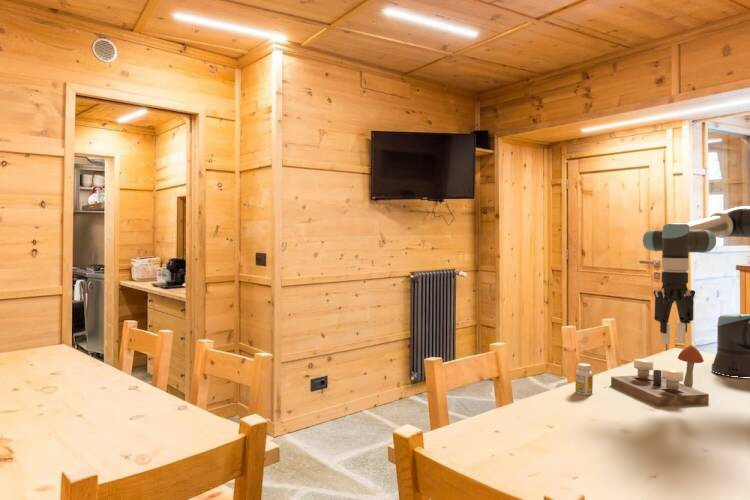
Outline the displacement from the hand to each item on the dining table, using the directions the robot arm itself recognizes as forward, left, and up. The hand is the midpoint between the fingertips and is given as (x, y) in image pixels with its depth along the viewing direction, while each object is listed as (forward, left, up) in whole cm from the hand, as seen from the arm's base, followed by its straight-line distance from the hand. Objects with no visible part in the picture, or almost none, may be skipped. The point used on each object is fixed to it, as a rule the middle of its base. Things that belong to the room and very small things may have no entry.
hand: (673, 342), depth 172 cm
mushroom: (-17, -12, -19) cm, 28 cm away
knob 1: (0, -14, -15) cm, 20 cm away
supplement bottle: (+24, -12, -19) cm, 33 cm away
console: (0, -7, -19) cm, 20 cm away
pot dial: (0, -7, -16) cm, 17 cm away
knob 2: (0, 0, -15) cm, 15 cm away
